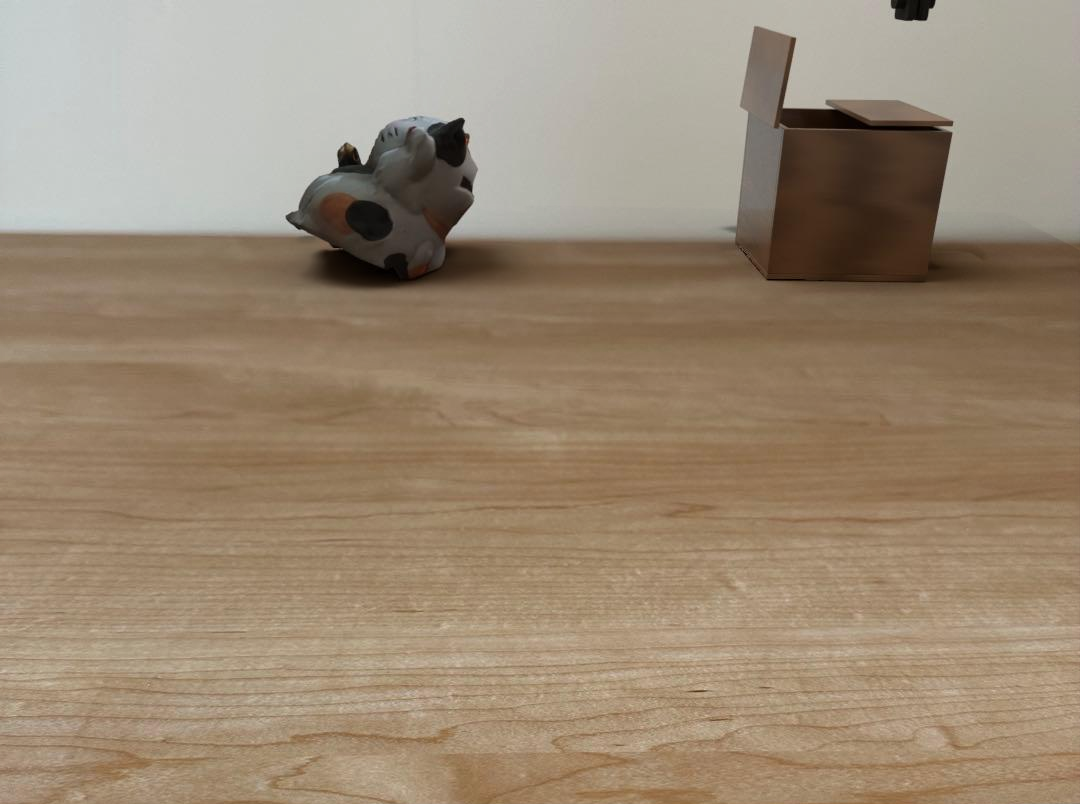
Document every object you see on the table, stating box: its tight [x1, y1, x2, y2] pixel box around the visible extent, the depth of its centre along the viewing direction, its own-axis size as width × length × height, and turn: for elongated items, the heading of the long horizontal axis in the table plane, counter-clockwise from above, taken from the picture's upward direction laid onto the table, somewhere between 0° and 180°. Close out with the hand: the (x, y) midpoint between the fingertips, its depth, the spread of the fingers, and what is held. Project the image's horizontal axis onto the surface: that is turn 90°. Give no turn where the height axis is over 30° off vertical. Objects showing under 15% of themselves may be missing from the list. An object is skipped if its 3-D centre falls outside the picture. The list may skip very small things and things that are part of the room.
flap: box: [824, 99, 954, 127], centre depth 92 cm, size 6×13×1 cm, turn 2°
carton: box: [734, 25, 954, 283], centre depth 93 cm, size 14×13×18 cm
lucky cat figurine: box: [285, 115, 479, 280], centre depth 90 cm, size 15×12×14 cm
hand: (910, 19), depth 88 cm, fingers closed
